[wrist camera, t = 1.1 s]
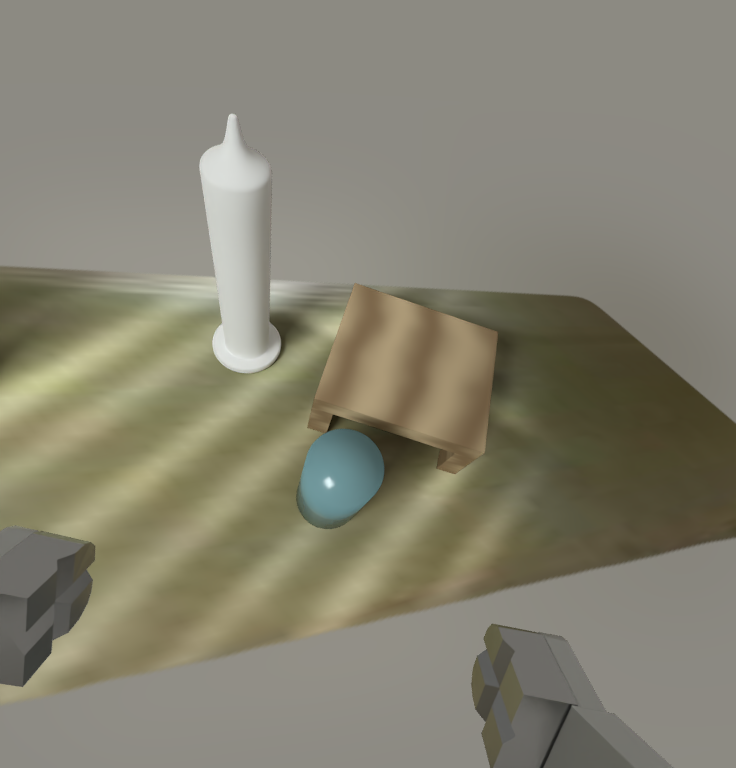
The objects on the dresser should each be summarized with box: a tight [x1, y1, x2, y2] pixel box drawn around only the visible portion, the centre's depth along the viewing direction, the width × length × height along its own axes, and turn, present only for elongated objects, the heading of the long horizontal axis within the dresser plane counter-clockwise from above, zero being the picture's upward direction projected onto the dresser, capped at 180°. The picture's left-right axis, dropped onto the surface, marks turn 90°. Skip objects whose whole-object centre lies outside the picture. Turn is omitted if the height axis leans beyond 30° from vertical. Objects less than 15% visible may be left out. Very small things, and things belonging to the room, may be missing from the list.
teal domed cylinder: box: [296, 429, 384, 529], centre depth 37 cm, size 6×6×10 cm
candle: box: [199, 114, 281, 373], centre depth 36 cm, size 7×7×25 cm
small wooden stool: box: [307, 283, 498, 474], centre depth 44 cm, size 16×14×7 cm
